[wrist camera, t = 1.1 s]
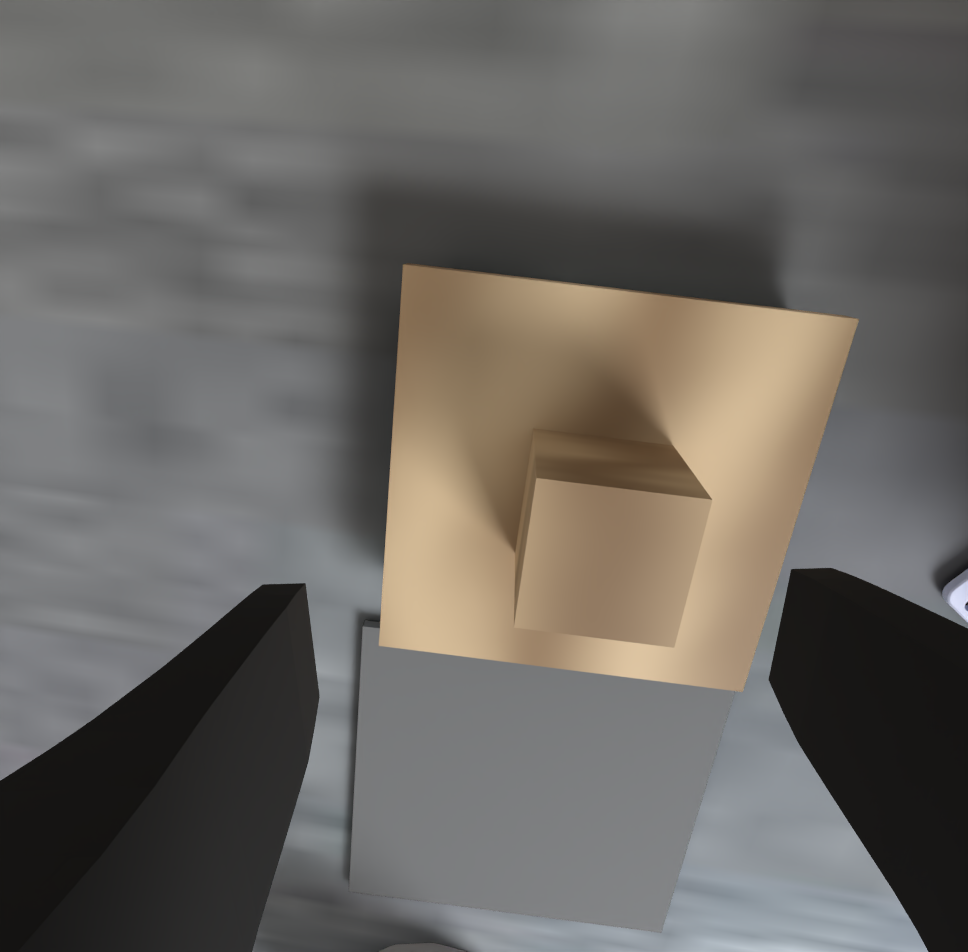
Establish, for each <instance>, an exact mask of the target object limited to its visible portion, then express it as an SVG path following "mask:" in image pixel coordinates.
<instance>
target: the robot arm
mask: <svg viewBox="0 0 968 952" xmlns="http://www.w3.org/2000/svg"><path fill="white" fill-rule="evenodd" d="M942 597H943V598H944V600H945V601H946V602H947V603H948V604H949V605H950V606H951V607H952V608H953V609H954V610H955V611H956V612H957V613H958V614H959V615H960V616H961V617H962V618H963V619H964V620H965V621H966V622H967V623H968V605H967V606H965V604H966V603H967V602H968V569H967V570H965V571H964V572H963V573H961V574H960V575H959V576H957V577H956V578H954V579H953V580H952V581H950V582H949V583H948V584H947V585H946V586H945V587H944V589H943V591H942ZM769 681H770V684H771V686H772V688H773V690H774V693H775V695H776V697H777V699H778V702H779V704H780V706H781V708H782V711H783V713H784V715H785V717H786V719H787V721H788V723H789V725H790V727H791V729H792V731H793V733H794V735H795V737H796V739H797V741H798V743H799V745H800V746H801V748H802V749H803V751H804V753H805V754H806V756H807V758H808V759H809V761H810V762H811V764H812V765H813V767H814V769H815V770H816V772H817V773H818V775H819V776H820V778H821V780H822V781H823V783H824V784H825V786H826V788H827V789H828V791H829V792H830V794H831V795H832V797H833V798H834V800H835V801H836V803H837V805H838V806H839V808H840V809H841V811H842V812H843V814H844V815H845V817H846V818H847V820H848V822H849V823H850V825H851V826H852V828H853V829H854V831H855V832H856V834H857V835H858V837H859V838H860V840H861V842H862V843H863V845H864V846H865V848H866V849H867V851H868V852H869V854H870V855H871V857H872V859H873V860H874V862H875V863H876V865H877V866H878V868H879V869H880V871H881V872H882V874H883V876H884V877H885V879H886V880H887V882H888V883H889V885H890V886H891V888H892V889H893V891H894V893H895V894H896V896H897V898H898V899H899V901H900V903H901V904H902V906H903V908H904V909H905V911H906V913H907V914H908V916H909V918H910V919H911V921H912V923H913V924H914V926H915V928H916V929H917V931H918V933H919V935H920V937H921V939H922V940H923V942H924V944H925V946H926V948H927V950H928V952H968V628H965V627H963V626H961V625H959V624H957V623H955V622H953V621H951V620H948V619H946V618H944V617H942V616H940V615H938V614H936V613H934V612H931V611H929V610H927V609H925V608H923V607H921V606H919V605H917V604H914V603H912V602H910V601H908V600H906V599H904V598H902V597H900V596H897V595H895V594H893V593H891V592H889V591H887V590H884V589H882V588H880V587H878V586H875V585H873V584H871V583H869V582H866V581H864V580H862V579H859V578H857V577H854V576H852V575H849V574H847V573H844V572H841V571H838V570H836V569H833V568H814V569H791V573H790V578H789V583H788V588H787V593H786V598H785V603H784V608H783V612H782V617H781V622H780V627H779V632H778V637H777V642H776V647H775V651H774V656H773V661H772V666H771V671H770V676H769ZM318 702H319V689H318V681H317V673H316V665H315V657H314V649H313V641H312V633H311V624H310V616H309V608H308V600H307V592H306V584H305V583H302V584H268V585H262V586H260V587H259V588H258V589H256V590H255V591H254V592H253V593H251V594H250V595H249V596H248V597H246V598H245V599H244V600H243V601H242V602H240V603H239V604H238V605H237V606H236V607H234V608H233V609H232V610H231V611H230V612H229V613H227V614H226V615H225V616H224V617H223V618H221V619H220V620H219V621H218V622H217V623H216V624H214V625H213V626H212V627H211V628H210V629H208V630H207V631H206V632H205V633H204V634H202V635H201V636H200V637H199V638H198V639H196V640H195V641H194V642H193V643H191V644H190V645H189V646H188V647H187V648H185V649H184V650H183V651H182V652H181V653H179V654H178V655H177V656H176V657H174V658H173V659H172V660H171V661H170V662H168V663H167V664H166V665H165V666H163V667H162V668H161V669H160V670H158V671H157V672H156V673H154V674H153V675H152V676H150V677H149V678H148V679H146V680H145V681H144V682H142V683H141V684H140V685H138V686H137V687H136V688H134V689H133V690H132V691H130V692H129V693H128V694H126V695H125V696H124V697H122V698H121V699H120V700H118V701H117V702H116V703H114V704H113V705H112V706H110V707H109V708H108V709H107V710H105V711H104V712H103V713H101V714H100V715H99V716H97V717H96V718H95V719H93V720H92V721H90V722H89V723H87V724H86V725H85V726H83V727H82V728H80V729H79V730H77V731H76V732H75V733H73V734H72V735H70V736H69V737H67V738H66V739H64V740H63V741H61V742H60V743H58V744H57V745H55V746H54V747H52V748H51V749H49V750H48V751H46V752H45V753H43V754H41V755H40V756H38V757H37V758H35V759H34V760H32V761H31V762H29V763H27V764H26V765H24V766H23V767H21V768H20V769H18V770H17V771H15V772H13V773H12V774H10V775H9V776H7V777H6V778H4V779H2V780H1V781H0V952H252V950H253V946H254V942H255V938H256V935H257V931H258V927H259V924H260V920H261V917H262V914H263V911H264V907H265V904H266V901H267V897H268V894H269V891H270V888H271V884H272V881H273V878H274V874H275V871H276V868H277V865H278V861H279V858H280V855H281V851H282V848H283V845H284V842H285V838H286V835H287V832H288V828H289V825H290V822H291V819H292V815H293V812H294V809H295V805H296V802H297V798H298V795H299V792H300V788H301V785H302V782H303V778H304V775H305V771H306V768H307V764H308V760H309V755H310V749H311V744H312V738H313V733H314V727H315V721H316V715H317V709H318Z"/></svg>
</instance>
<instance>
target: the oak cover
mask: <svg viewBox="0 0 968 952" xmlns="http://www.w3.org/2000/svg"><path fill="white" fill-rule="evenodd" d="M858 321H859V319H856V318H852V317H848V316H843V315H835V314H827V313H818V312H810V311H802V310H793V309H785V308H777V307H768V306H760V305H752V304H743V303H735V302H727V301H719V300H710V299H702V298H694V297H685V296H677V295H669V294H660V293H652V292H644V291H635V290H627V289H619V288H610V287H602V286H594V285H586V284H577V283H569V282H561V281H552V280H544V279H536V278H527V277H519V276H511V275H502V274H494V273H486V272H477V271H469V270H461V269H452V268H444V267H436V266H428V265H419V264H411V263H407V264H403V273H402V289H401V305H400V320H399V336H398V352H397V368H396V383H395V399H394V415H393V430H392V446H391V462H390V477H389V493H388V509H387V525H386V540H385V556H384V572H383V587H382V603H381V619H380V634H379V646H384V647H392V648H400V649H408V650H416V651H424V652H432V653H440V654H447V655H455V656H463V657H471V658H479V659H487V660H495V661H503V662H511V663H518V664H526V665H534V666H542V667H550V668H558V669H566V670H574V671H581V672H589V673H597V674H605V675H613V676H621V677H629V678H637V679H644V680H652V681H660V682H668V683H676V684H684V685H692V686H700V687H708V688H715V689H723V690H731V691H739V692H743V689H744V686H745V683H746V680H747V676H748V673H749V670H750V667H751V664H752V660H753V657H754V654H755V651H756V648H757V644H758V641H759V638H760V635H761V632H762V628H763V625H764V622H765V619H766V616H767V612H768V609H769V606H770V603H771V600H772V596H773V593H774V590H775V587H776V584H777V580H778V577H779V574H780V571H781V568H782V564H783V561H784V558H785V555H786V552H787V548H788V545H789V542H790V539H791V536H792V532H793V529H794V526H795V523H796V520H797V516H798V513H799V510H800V507H801V504H802V500H803V497H804V494H805V491H806V488H807V484H808V481H809V478H810V475H811V472H812V468H813V465H814V462H815V459H816V456H817V452H818V449H819V446H820V443H821V439H822V436H823V433H824V430H825V427H826V423H827V420H828V417H829V414H830V411H831V407H832V404H833V401H834V398H835V395H836V391H837V388H838V385H839V382H840V379H841V375H842V372H843V369H844V366H845V363H846V359H847V356H848V353H849V350H850V347H851V343H852V340H853V337H854V334H855V331H856V327H857V324H858Z"/></svg>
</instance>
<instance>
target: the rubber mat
mask: <svg viewBox="0 0 968 952" xmlns="http://www.w3.org/2000/svg"><path fill="white" fill-rule="evenodd" d="M379 634H380V622H375V621H367V620H365V622H364V624H363V631H362V650H361V669H360V688H359V707H358V726H357V745H356V764H355V784H354V803H353V822H352V841H351V860H350V879H349V892H354V893H362V894H370V895H377V896H385V897H393V898H400V899H408V900H415V901H423V902H431V903H438V904H446V905H454V906H461V907H469V908H476V909H484V910H492V911H499V912H507V913H515V914H522V915H530V916H537V917H545V918H553V919H560V920H568V921H576V922H583V923H591V924H598V925H606V926H614V927H621V928H629V929H637V930H644V931H652V932H659V933H661V932H662V928H663V925H664V922H665V919H666V915H667V912H668V909H669V906H670V902H671V899H672V896H673V893H674V889H675V886H676V883H677V880H678V876H679V873H680V870H681V867H682V863H683V860H684V857H685V854H686V850H687V847H688V844H689V841H690V837H691V834H692V831H693V828H694V824H695V821H696V818H697V815H698V811H699V808H700V805H701V802H702V798H703V795H704V792H705V789H706V785H707V782H708V779H709V776H710V772H711V769H712V766H713V762H714V759H715V756H716V753H717V749H718V746H719V743H720V740H721V736H722V733H723V730H724V727H725V723H726V720H727V717H728V714H729V710H730V707H731V704H732V701H733V697H734V694H735V691H731V690H723V689H715V688H708V687H700V686H692V685H684V684H676V683H668V682H660V681H652V680H644V679H637V678H629V677H621V676H613V675H605V674H597V673H589V672H581V671H574V670H566V669H558V668H550V667H542V666H534V665H526V664H518V663H511V662H503V661H495V660H487V659H479V658H471V657H463V656H455V655H447V654H440V653H432V652H424V651H416V650H408V649H400V648H392V647H384V646H379Z"/></svg>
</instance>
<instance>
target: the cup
mask: <svg viewBox="0 0 968 952" xmlns="http://www.w3.org/2000/svg"><path fill="white" fill-rule="evenodd" d="M378 952H467V951H463V950H459V949H456V948H452V947H448V946H444V945H440V944H437V943H415V944H394V945H392V946H390V947H387V948H385V949H383V950H380V951H378Z"/></svg>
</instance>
